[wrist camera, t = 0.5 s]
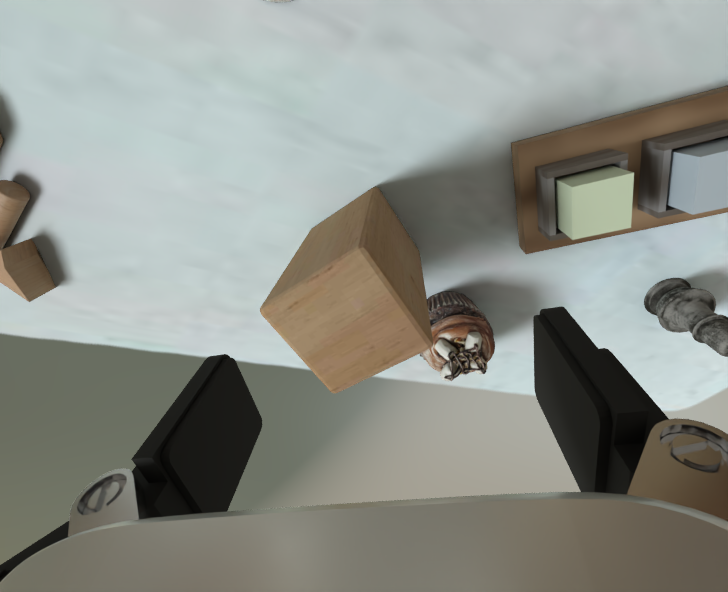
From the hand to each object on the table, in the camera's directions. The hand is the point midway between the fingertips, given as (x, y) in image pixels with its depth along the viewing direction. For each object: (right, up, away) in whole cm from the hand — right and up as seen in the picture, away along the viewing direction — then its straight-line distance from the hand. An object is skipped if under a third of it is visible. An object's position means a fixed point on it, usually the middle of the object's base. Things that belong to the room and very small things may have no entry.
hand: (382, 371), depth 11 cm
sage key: (+21, +12, +25) cm, 35 cm away
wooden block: (0, +9, +35) cm, 36 cm away
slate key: (+31, +14, +23) cm, 41 cm away
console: (+31, +16, +28) cm, 45 cm away
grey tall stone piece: (+37, +2, +35) cm, 51 cm away
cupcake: (+11, 0, +39) cm, 40 cm away
